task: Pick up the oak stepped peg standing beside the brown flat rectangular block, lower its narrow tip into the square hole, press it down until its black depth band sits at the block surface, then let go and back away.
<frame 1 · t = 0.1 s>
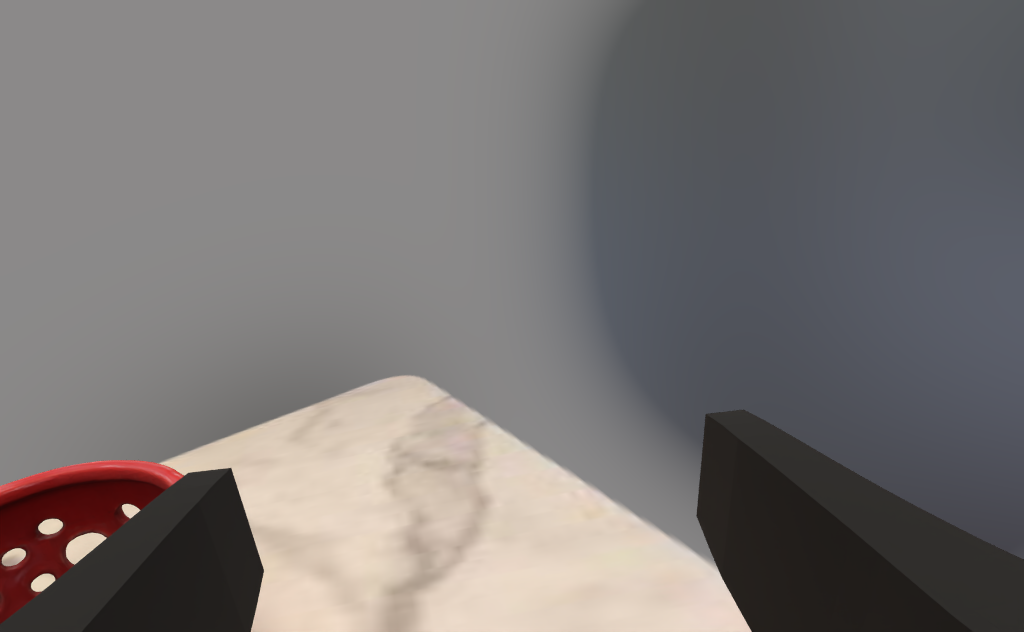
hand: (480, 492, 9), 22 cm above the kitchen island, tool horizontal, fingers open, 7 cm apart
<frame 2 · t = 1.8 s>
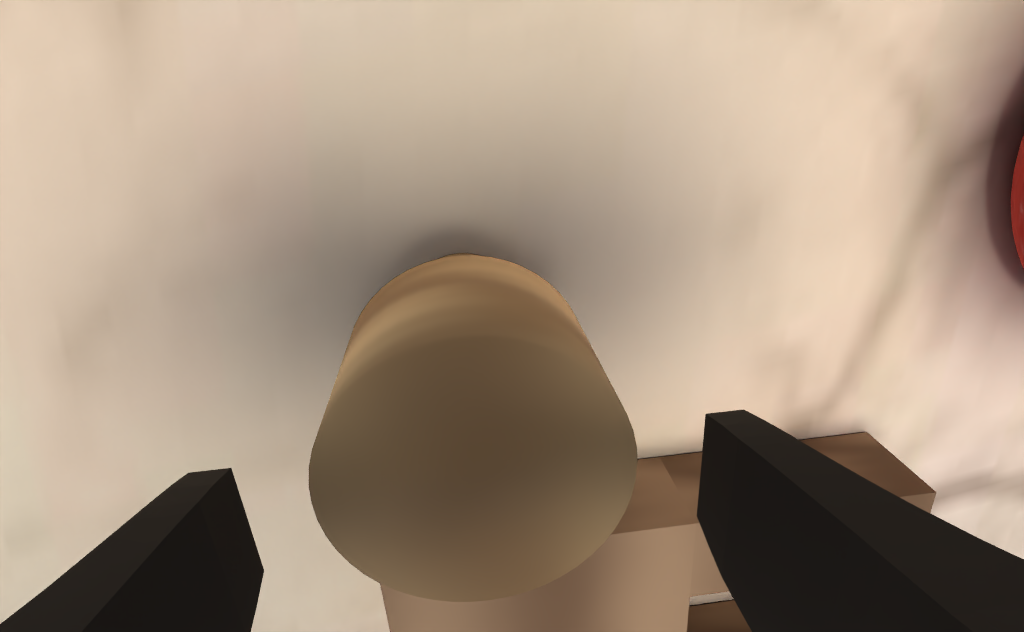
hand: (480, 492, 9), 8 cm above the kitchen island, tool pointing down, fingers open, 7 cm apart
oak peg: (463, 305, 16), on the kitchen island
brown flat rectangular block: (630, 572, 21), on the kitchen island
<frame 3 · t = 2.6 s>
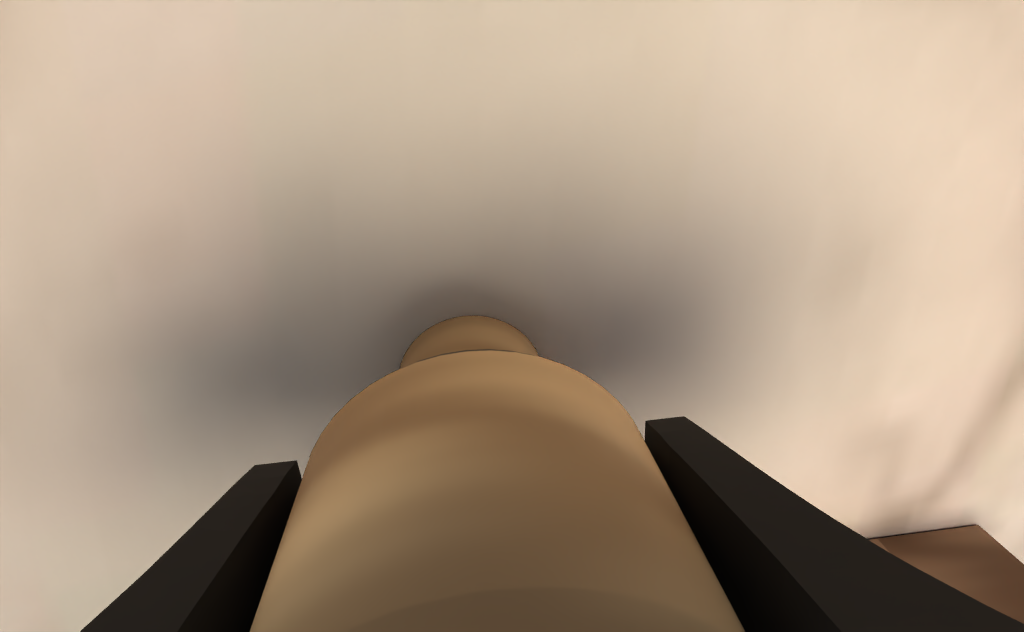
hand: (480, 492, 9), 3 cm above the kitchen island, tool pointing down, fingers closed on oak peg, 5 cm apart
oak peg: (471, 381, 12), on the kitchen island, touching gripper
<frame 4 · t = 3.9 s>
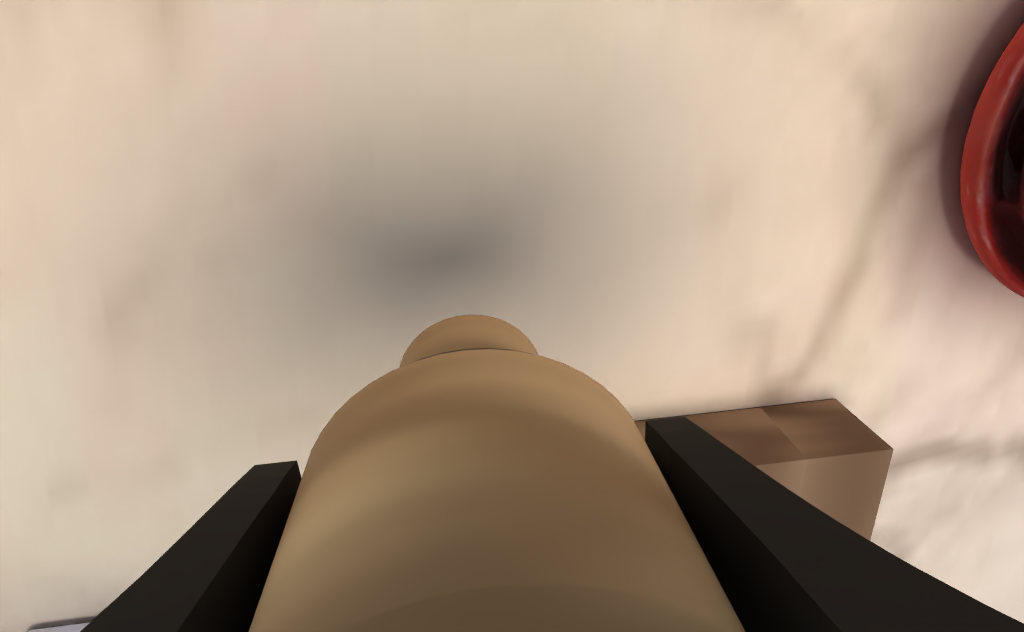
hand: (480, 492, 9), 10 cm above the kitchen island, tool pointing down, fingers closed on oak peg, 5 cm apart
oak peg: (471, 380, 12), point 6 cm above the kitchen island, touching gripper
brown flat rectangular block: (618, 530, 23), on the kitchen island
when the fingers open (3 cm above the kitchen island, at t = 7.0 s): oak peg stays where it is, resting in brown flat rectangular block.
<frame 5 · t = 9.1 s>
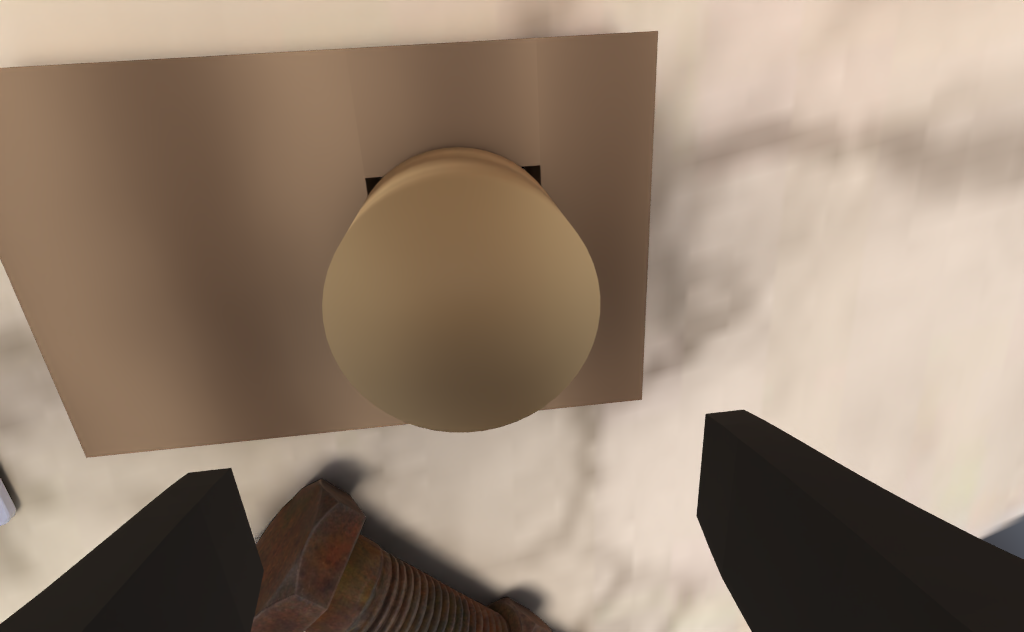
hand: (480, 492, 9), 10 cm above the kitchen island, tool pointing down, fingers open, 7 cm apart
oak peg: (457, 218, 18), resting in brown flat rectangular block
bolt: (442, 584, 24), on the kitchen island
brown flat rectangular block: (360, 233, 18), on the kitchen island
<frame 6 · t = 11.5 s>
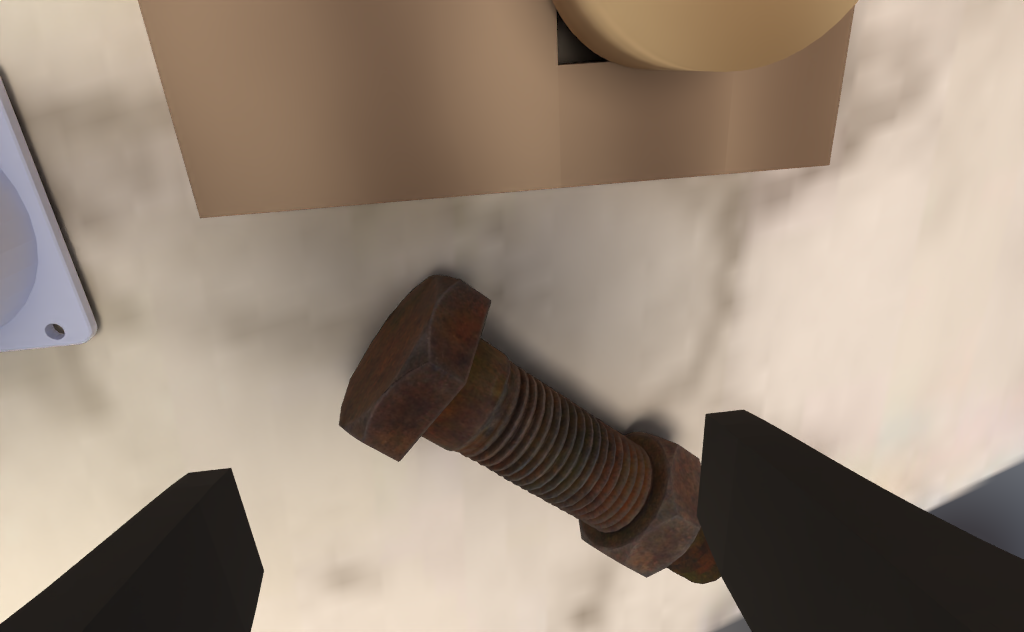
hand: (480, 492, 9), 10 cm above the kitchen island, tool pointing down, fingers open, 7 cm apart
bolt: (560, 421, 22), on the kitchen island
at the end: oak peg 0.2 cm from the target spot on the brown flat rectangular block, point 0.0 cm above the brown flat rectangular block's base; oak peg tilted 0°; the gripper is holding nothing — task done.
